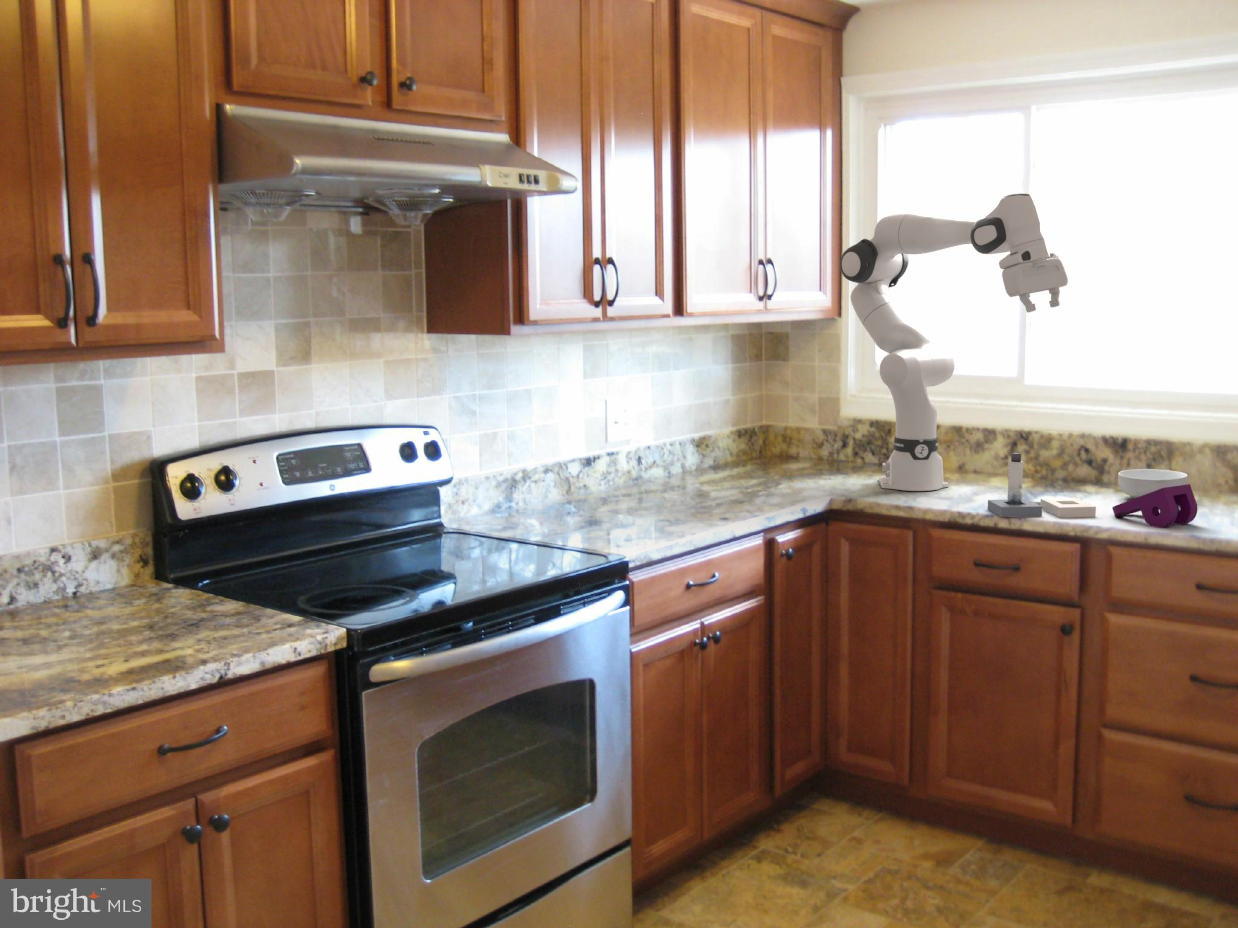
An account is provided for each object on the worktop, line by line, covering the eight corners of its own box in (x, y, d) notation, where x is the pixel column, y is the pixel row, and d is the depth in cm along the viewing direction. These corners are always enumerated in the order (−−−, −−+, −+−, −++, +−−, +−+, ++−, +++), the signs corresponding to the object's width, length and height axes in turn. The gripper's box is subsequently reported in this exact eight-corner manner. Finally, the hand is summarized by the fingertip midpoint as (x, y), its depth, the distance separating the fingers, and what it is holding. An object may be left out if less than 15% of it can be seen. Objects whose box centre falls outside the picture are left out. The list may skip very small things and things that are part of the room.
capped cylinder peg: (1005, 511, 303) (1007, 452, 300) (1018, 511, 303) (1020, 452, 300) (1009, 514, 299) (1012, 454, 297) (1023, 514, 299) (1025, 454, 297)
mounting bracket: (1114, 543, 293) (1174, 522, 277) (1103, 509, 295) (1162, 487, 279) (1141, 538, 297) (1202, 518, 282) (1130, 505, 299) (1189, 484, 284)
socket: (987, 509, 306) (987, 499, 305) (1026, 508, 306) (1026, 499, 306) (1001, 517, 296) (1001, 507, 296) (1041, 516, 296) (1042, 506, 296)
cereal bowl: (1121, 492, 327) (1123, 466, 326) (1189, 497, 318) (1191, 470, 317) (1112, 503, 312) (1113, 476, 311) (1183, 508, 304) (1184, 480, 303)
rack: (1040, 508, 306) (1040, 498, 306) (1075, 507, 307) (1075, 497, 306) (1059, 517, 294) (1059, 507, 294) (1095, 516, 295) (1095, 506, 294)
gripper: (1045, 254, 311) (1058, 307, 310) (994, 263, 300) (1007, 317, 299) (1066, 247, 305) (1079, 300, 305) (1014, 256, 294) (1028, 311, 294)
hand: (1043, 309), depth 302 cm, fingers open, 8 cm apart
